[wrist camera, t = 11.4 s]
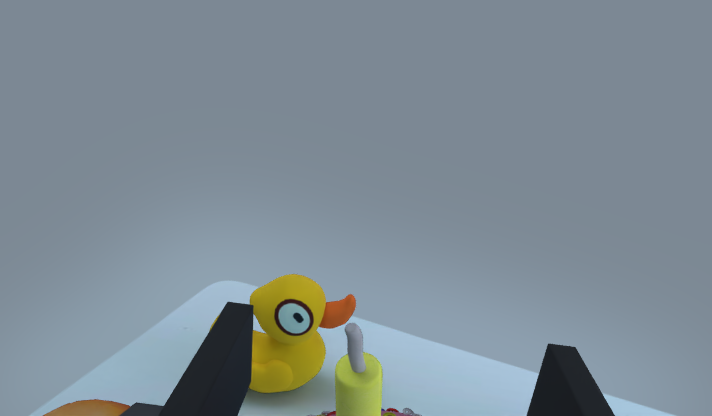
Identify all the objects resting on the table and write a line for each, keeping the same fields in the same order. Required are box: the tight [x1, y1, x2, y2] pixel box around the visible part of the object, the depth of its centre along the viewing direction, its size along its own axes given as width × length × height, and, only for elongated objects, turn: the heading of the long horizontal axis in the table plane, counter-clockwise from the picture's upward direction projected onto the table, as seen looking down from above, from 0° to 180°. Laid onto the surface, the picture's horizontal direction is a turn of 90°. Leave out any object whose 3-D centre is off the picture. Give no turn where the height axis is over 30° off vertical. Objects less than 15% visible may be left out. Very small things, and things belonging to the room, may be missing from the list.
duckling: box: [210, 274, 356, 393], centre depth 38 cm, size 11×5×10 cm, turn 92°
